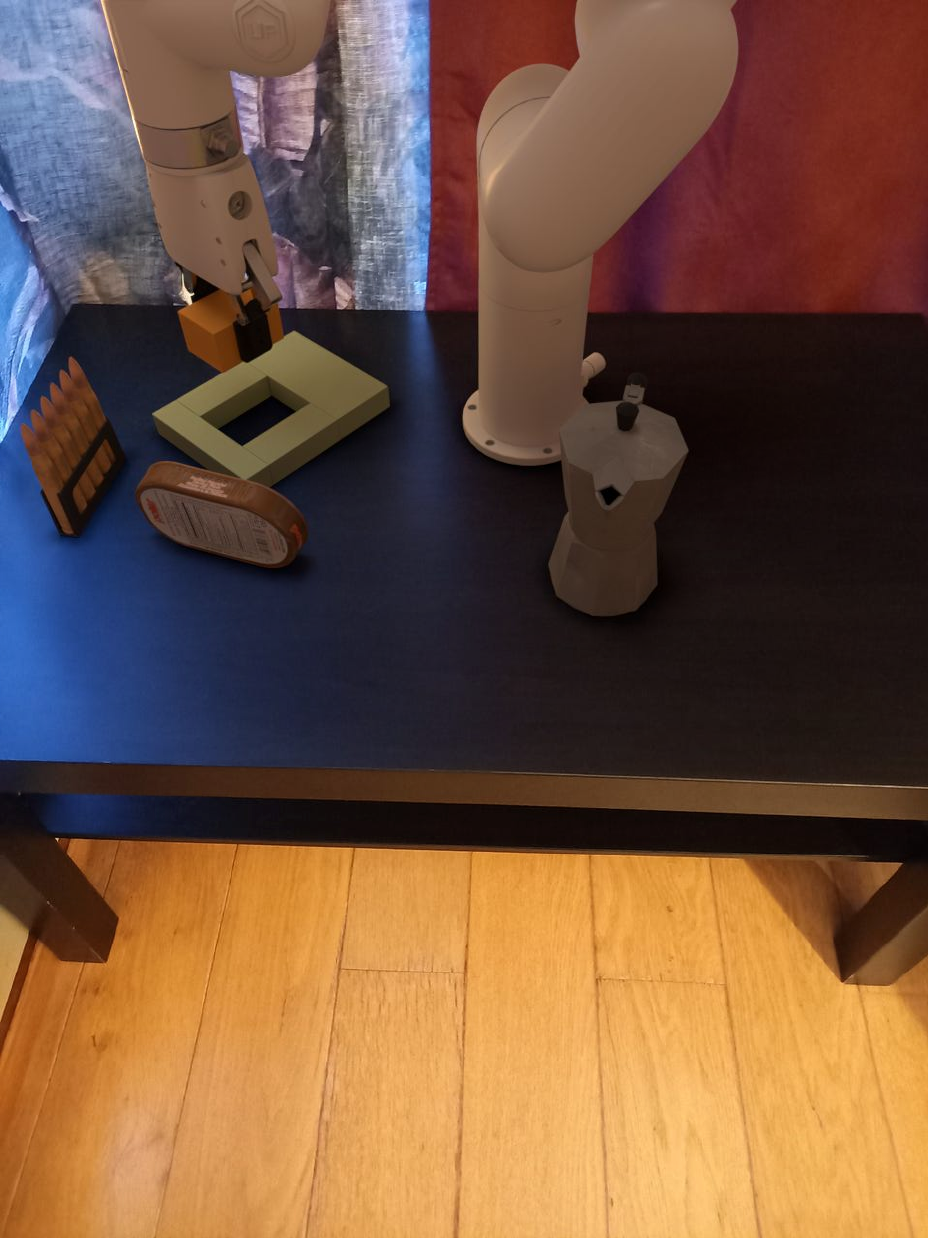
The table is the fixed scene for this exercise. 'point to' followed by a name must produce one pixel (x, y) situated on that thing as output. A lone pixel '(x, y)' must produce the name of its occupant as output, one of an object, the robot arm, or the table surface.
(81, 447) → the ammunition clip
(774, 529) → the table surface
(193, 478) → the tin
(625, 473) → the coffeepot
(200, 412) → the olive rectangular frame
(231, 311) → the ochre box
